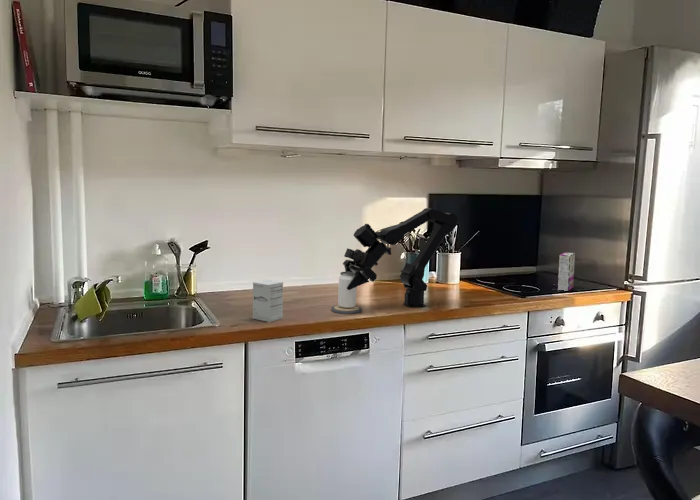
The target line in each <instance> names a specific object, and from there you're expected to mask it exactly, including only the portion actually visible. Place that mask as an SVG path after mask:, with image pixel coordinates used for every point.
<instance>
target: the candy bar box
mask: <svg viewBox="0 0 700 500" xmlns="http://www.w3.org/2000/svg"><path fill="white" fill-rule="evenodd" d="M575 260H576V253H575V252H563V253H561V254H559V255H558V274H557V291H558V290H564V291H569V290H571V289H572V288H573V289H574V282H575V281H574V279H575V262H576V261H575ZM573 289H572V290H573ZM572 290H571V291H572ZM569 292H570V291H569Z"/></svg>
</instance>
